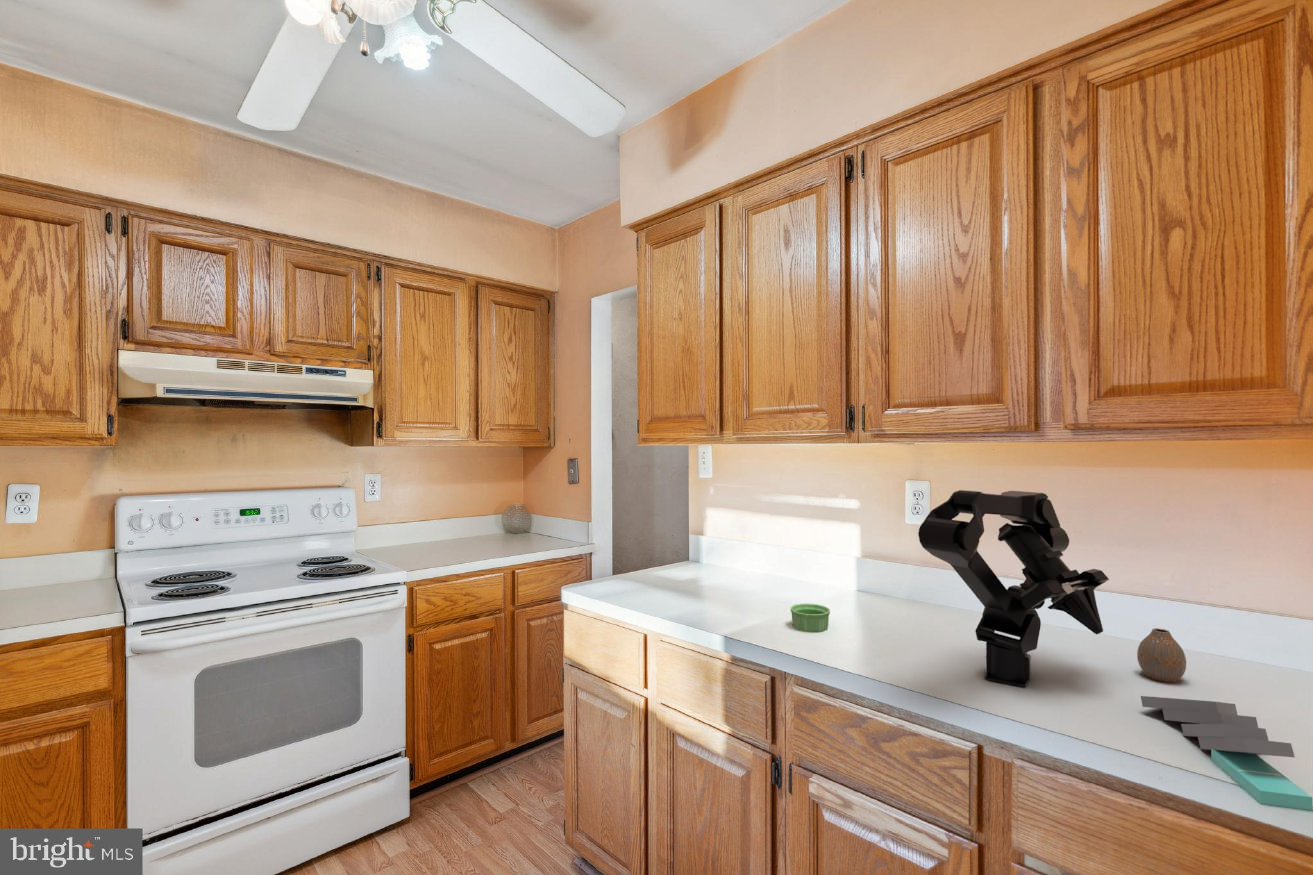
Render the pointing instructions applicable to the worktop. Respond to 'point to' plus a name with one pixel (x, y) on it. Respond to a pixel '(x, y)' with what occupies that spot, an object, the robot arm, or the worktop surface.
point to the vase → (1161, 656)
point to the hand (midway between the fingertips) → (1099, 632)
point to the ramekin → (810, 617)
